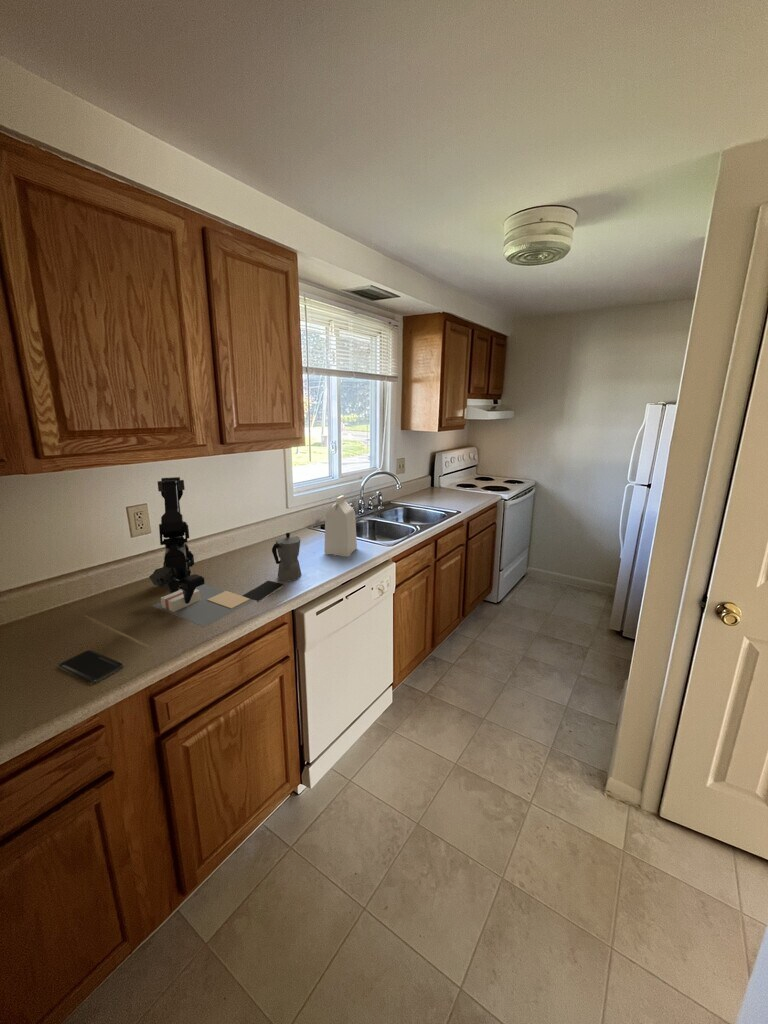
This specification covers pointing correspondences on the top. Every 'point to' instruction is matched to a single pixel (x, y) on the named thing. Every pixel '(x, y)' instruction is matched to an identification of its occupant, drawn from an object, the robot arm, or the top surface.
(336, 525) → the milk
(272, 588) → the smartphone
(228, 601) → the mat
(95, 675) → the phone
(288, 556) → the coffeepot
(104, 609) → the top surface
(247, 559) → the top surface
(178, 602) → the card box
